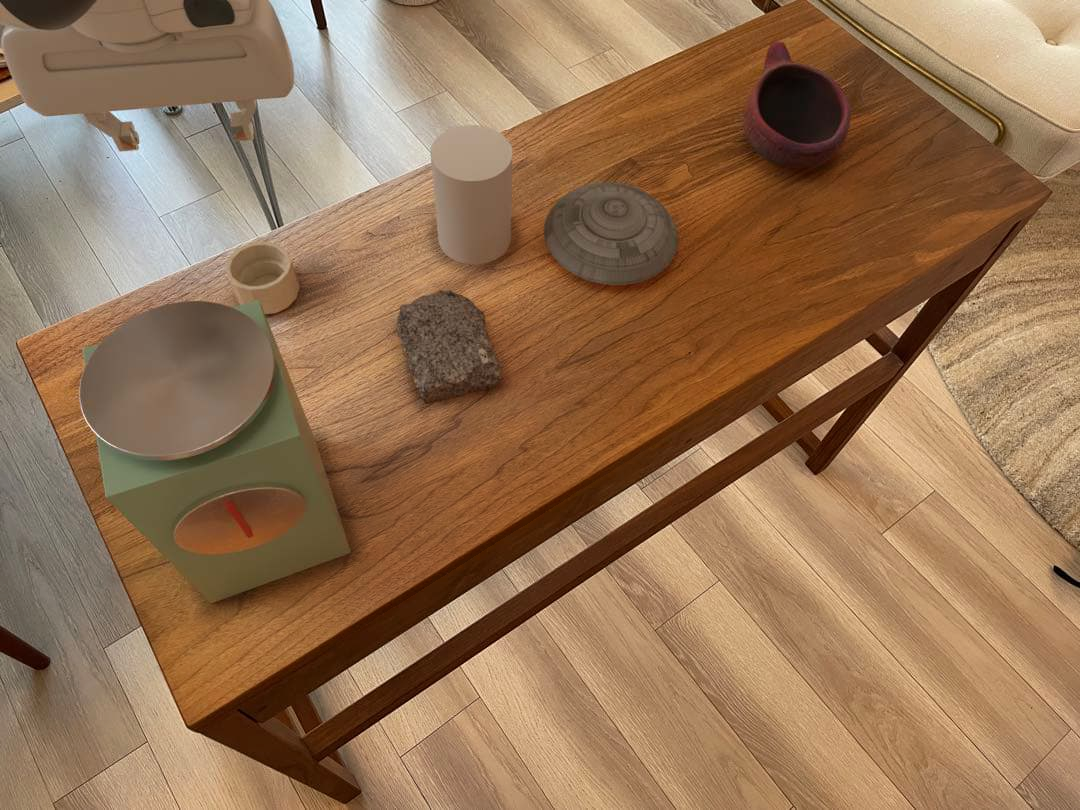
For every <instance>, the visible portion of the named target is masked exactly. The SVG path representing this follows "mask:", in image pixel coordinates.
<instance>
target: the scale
mask: <svg viewBox="0 0 1080 810" xmlns="http://www.w3.org/2000/svg"><path fill="white" fill-rule="evenodd" d="M81 350H82V355H83V361H84V369H83V371H82V374H81V377H80V382H79V389H78V399H79V400H78V401H79V406H80V410H81V411H80V412H81V414H82V417H83V419H84V421H85V423H86V425H87V426H88V427H89V429H90V430H91V431H92V432H93V433H94V435H95V437H96V444H97V450H98V457H99V463H100V469H101V476H102V481H103V483H102V484H103V490H104V494H105V499H106V500H107V501H109V502H110V503H111V504H112V505H113V506H114V507H115V508H116V510H118V511H119V512H120V514H122V515H123V516H124V517H125V518H126V520H128V521H129V523H131V524H132V526H133V527H135V529H136V530H137V531H139V533H140V534H141V535H143V537H144V538H145V539H147V541H148V542H149V543H150V544H151V545H152V546H153V547H154V548H155V549H156V550H157V551H158V552H159V553H160V554H161V555H163V557H164V558H165V559H166V560H167V561H168V563H170V564H171V565H172V566H173V567H174V568H175V569H176V570H177V571H178V572H179V573H180V574H181V575H182V577H184V578H185V579H186V580H187V581H188V582H189V583H190V584H191V585H192V586H193V587H194V588H195V589H196V590H197V592H199V593H200V594H201V596H203V597H204V598H205V599H206V600H207V601H208V602H209V603H210V604H214V603H216V602H219V601H222V600H224V599H228V598H230V597H233V596H236V595H238V594H241V593H244V592H247V591H249V590H253V589H255V588H259V587H261V586H263V585H267V584H268V583H272V582H274V581H275V582H276V581H278V580H280V579H283V578H285V577H288V576H291V575H294V574H297V573H299V572H302V571H305V570H308V569H310V568H313V567H316V566H320V565H322V564H325V563H328V562H330V561H332V560H335V559H338V558H341V557H343V556H346V555H348V554H351V553H352V552H351V548H350V545H349V542H348V539H347V535H346V532H345V529H344V525H343V523H342V520H341V515H340V513H339V510H338V506H337V503H336V500H335V497H334V494H333V491H332V487H331V485H330V482H329V478H328V475H327V472H326V469H325V465H324V463H323V460H322V457H321V453H320V450H319V446H318V443H317V439H316V438H315V436H314V433H313V430H312V428H311V426H310V423H309V420H308V419H307V418H308V417H307V415H306V413H305V411H304V408H303V406H302V403H301V400H300V398H299V396H298V392H297V391H296V388H295V385H294V383H293V381H292V378H291V376H290V373H289V371H288V368H287V366H286V364H285V361H284V359H283V356H282V353H281V351H280V348H279V345H278V344H277V341H276V338H275V336H274V333H273V331H272V329H271V326H270V323H269V321H268V319H267V316H266V314H265V313H264V311H263V308H262V306H261V303H260V301H259V300H256V301H252V302H248V303H245V304H241V305H240V304H238V305H234V306H229V305H226V304H222V303H217V302H214V301H203V300H186V301H179V302H178V301H177V302H173V303H172V302H171V303H168V304H163V305H159V306H156V307H154V308H150V309H147V310H146V311H144V312H141V313H139V314H137V315H135V316H133V317H131V318H129V319H128V320H126V321H125V322H123V323H122V324H120V325H119V326H117V327H116V328H115V329H114V330H113V331H111V332H110V333H108V334H107V336H106V337H105V338H104V339H103V340H102V341H100V343H96V344H93V345H89V346H87V347H86V346H85V347H83V348H82V349H81Z"/></svg>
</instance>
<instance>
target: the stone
mask: <svg viewBox="0 0 1080 810" xmlns="http://www.w3.org/2000/svg"><path fill="white" fill-rule="evenodd" d="M486 325H487V324H486V317H485V312H484V311H482V310H481V309H480V308H479V307H477V305H476V304H475V302H474V301H473V300H471V299H470V298H469V297H467V296H464V295H463V294H460V293H456V292H453V290H451V289H448V290H446V291H444V290H440V289H439V291H438V292H435V293H432V294H425V295H421V296H420V297H418V298H416V299H415V300H413V301H412V302H410V303H408V304H401V305H400V306H399V310H398V315H397V323H396V333H397V336H398V338H399V340H400V343H401V349H402V353H403V356H404V358H405V359H406V360H407V363H408V368H409V371H410V373H411V375H412V378H413V381H414V384H415V387H416V388H417V389H418V391H419V395H420V396H421V399H422V401H423V402H424V404H428V403H433V402H439V401H442V400H445V399H446V400H447V399H450V398H451V399H452V398H456V397H462V396H464V395H467V394H471V393H476V392H481V391H484V390H493V389H495V388H496V387H497V384H498V383H499V381H500V379H501V375H502V368H501V365H500V363H499V361H498V358H497V356H496V353H495V352H494V349H493V347H492V345H491V341H490V334H489V331H488V327H487V326H486Z"/></svg>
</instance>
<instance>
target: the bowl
mask: <svg viewBox="0 0 1080 810" xmlns="http://www.w3.org/2000/svg"><path fill="white" fill-rule="evenodd" d="M851 119H852V110H851V105H850V102H849V99H848V98H847V96H846V93H845V91H844V90H843V89H842V86H840V84H839V83H838V82H836V81H835V80H834V79H833V78H832V77H830V75H828V74H826V73H825V72H823V71H822V70H820V69H817V68H815V67H812V66H810V65H808V64H804V63H799V62H798V63H797V62H793V60H792V58H791V54H790V52H789V50H788V48H787V46H786V44H785V43H784V42H782V41H777V40H776V41H773V42H771V44H770V45H769V47H768V49H767V51H766V55H765V59H764V64H763V70H762V74H761V75H760V76H759V77H758V78H757V80H756V82H755V83H754V85H753V86H752V88H751V90H750V93H749V95H748V98H747V99H746V102H745V106H744V111H743V114H742V127H743V131H744V134H745V137H746V139H747V141H748V143H749V144H750V146H751V147H752V149H753V150H754V151H755V152H756V153H757V154H758V155H760V156H761V157H762V158H763V159H765V160H766V161H767V162H770V163H772V164H774V165H778V166H781V167H786V168H790V169H791V168H792V169H807V168H813V167H816V166H819V165H821V164H824V163H825V162H827V161H828V160H830V159H831V158H833V157H834V156H835V155H836V154H837V153H838V152H839V151H840V149H842V147H843V146H844V144H845V142H846V139H847V137H848V135H849V131H850V130H849V129H850V125H851Z"/></svg>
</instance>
